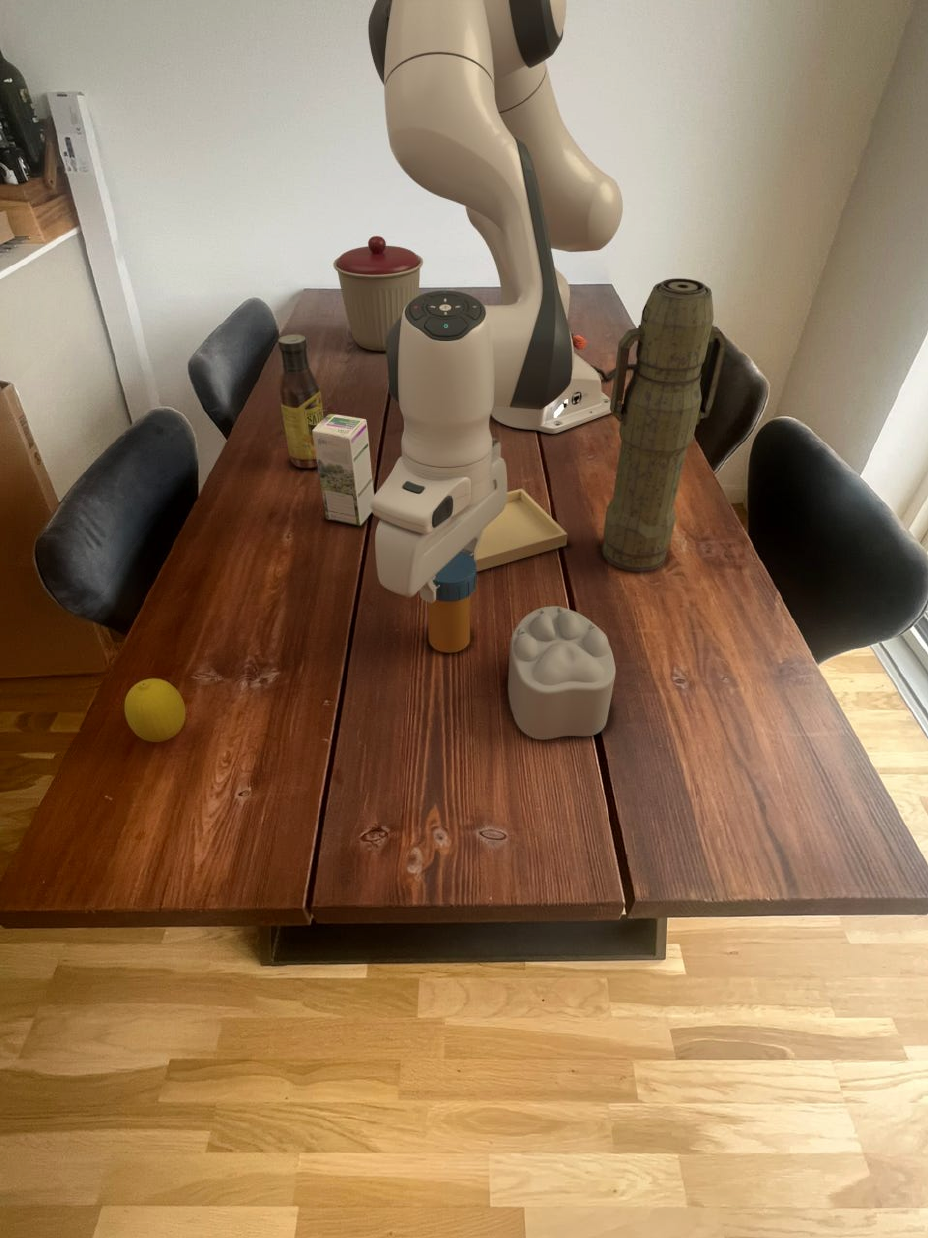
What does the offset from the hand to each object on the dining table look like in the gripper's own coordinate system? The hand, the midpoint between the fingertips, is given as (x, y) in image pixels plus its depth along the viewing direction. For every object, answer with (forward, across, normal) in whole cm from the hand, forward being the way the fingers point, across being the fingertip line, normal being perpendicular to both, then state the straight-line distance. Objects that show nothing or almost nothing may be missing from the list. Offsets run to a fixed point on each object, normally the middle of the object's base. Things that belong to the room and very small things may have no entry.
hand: (448, 580), depth 82 cm
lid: (-2, 0, 0) cm, 2 cm away
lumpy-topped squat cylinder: (+9, +1, +15) cm, 17 cm away
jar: (+9, 0, 0) cm, 9 cm away
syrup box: (+9, -15, -27) cm, 32 cm away
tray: (+9, -22, -6) cm, 24 cm away
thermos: (+9, -28, +12) cm, 32 cm away
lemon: (+9, +28, -17) cm, 34 cm away
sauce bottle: (+9, -24, -43) cm, 50 cm away
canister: (+9, -72, -63) cm, 96 cm away
